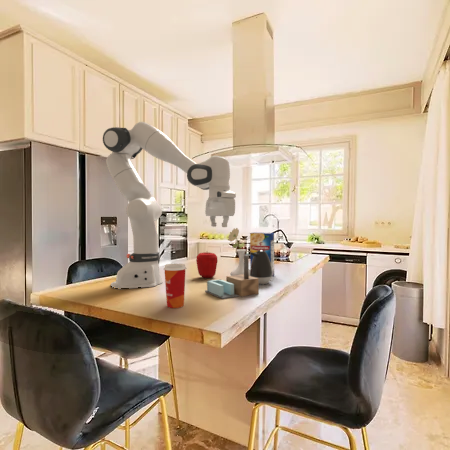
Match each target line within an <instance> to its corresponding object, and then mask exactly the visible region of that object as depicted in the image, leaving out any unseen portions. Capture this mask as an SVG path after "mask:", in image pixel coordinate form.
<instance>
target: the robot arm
mask: <svg viewBox="0 0 450 450" xmlns="http://www.w3.org/2000/svg"><path fill="white" fill-rule="evenodd" d="M102 143H103V145H104V147H105V148H106V149H107V150H109V151H110V152H112V153H110V154H109V155H108V156H107V157H106V160H105V163H106V166H107V169H108V171H109V174H110V176H111V178H112V181H114V183H115V185H116V187H117V189H118V190H119V192H120V194H121V195H122V197H124V198H125V199H126V200H127V202H129V203H127V206H126V214H127V217H128V219H129V223H130V226H131V231H132V238H133V239H132V241H133V243H132V244H133V253H131V254H130V253H126V258H127V259H128V262H127V263H126V264H125V265H123V266H122V268H120V269H119V270H118V271H117V273H116V277H115V278H116V279H115V281H113V282H111V283H110V286H112V287H111V288H113V287H115V288H119V289H118V290H122V289H121V288H129V289H138V287H141V288H153V287H156V286H157V285H161V284H162V283H163V280H162V276H161V271H160V252H159V234H158V232H157V229H156V224H155V222H156V221H157V220H159V218H161V216H162V213H163V208H162V207H161V205H160V204H159V202H158V201H157V200H156V198H155V196H154V195H153V194H152V193H151V191H150V190H149V189H148V187H147V186H146V184H145V183H144V181H143V180H142V177H141V176H140V175H139V173H138V171H137V169H136V168H135V167H134V164H133V163H132V161H131V160H134V159H135V158H136V157H137V156H138V155H139V154H140V153H141V152H142V151H143V150H144V151H146V153H147V154H149V155H150V156H152V157H155V158H156V159H158V160H161V161H163V162H166V163H169V164H172V165H173V166H176V167H177V168H179V169H180V170H181V171H183V172H184V173H185V174H186V179H187V181H188V183H190V184H191V185H192V186H193V187H197V188H199V189H201V190H203V191H208V198H207V200H206V203H205V210H204V211H205V212H204V213H205V216H206V217H209V220H210V223H211V224H210V225H211V227H213V228H214V227H215V228H216V227H217V222H216V219H217V217H222V219H223V221H222V222H221V227H222V228H227V227H228V222H229V220H230V217H234V216H235V213H236V200H235V199H236V195H237V194H236V192H234V191H232V190H231V189H230V188H231V187H230V184H229V183H230V178H231V171H230V170H231V169H230V167H231V166H230V162H229V160H228V159H227V158H226V157H224V156H221V155H212V156H210V157H209V158H208V159H207V160H205V161H202V162H199V163H196V162H195V161H194V160H192V159H191V158H190V157H188V156H187V155H186V154H184V153H183V152H182V151H181V150H180V148H179V147H178V146H177V145H176V144H175V143H174V142H173V141H172V140H171V139H170V138H169V137H168V136H167V135H166V134H165V133H164V132H163V131H162V130H160V129H158V128H157V127H155V126H154V125H152V124H149V123H148V122H145V121H139V122H137V123H135V124H134V125H133V127H132V128H131V129H128V128H126V127H120V126H119V127H118V126H117V127H116V126H115V127H114V126H113V127H109V128H107V129H105V131H104V132H103V135H102ZM115 288H114V289H115Z"/></svg>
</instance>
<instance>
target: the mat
mask: <svg viewBox="0 0 450 450" xmlns="http://www.w3.org/2000/svg"><path fill="white" fill-rule="evenodd" d="M204 292H205V293H207V294H209V295H212V296H214V297H216V298H219V299H222V300H226V299H233V298H238V297H240V296H239V295H237V294H234V295H230V294H227V293H225V292H224V296H221V297H220V296H218V295H216V294H213V293H211V292H209V291H207V289H205V290H204Z"/></svg>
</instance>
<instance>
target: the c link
mask: <svg viewBox="0 0 450 450" xmlns="http://www.w3.org/2000/svg"><path fill="white" fill-rule="evenodd" d="M206 288H207V289H206V290H207V291H209V292H211V293H213V294H216V295H218V296H220V297H221V296H224V292H225V293H227V294H230V295H234V284H232V283H229V282H226V280H224V279H211V280H207V282H206Z"/></svg>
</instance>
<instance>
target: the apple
mask: <svg viewBox="0 0 450 450" xmlns="http://www.w3.org/2000/svg"><path fill="white" fill-rule="evenodd" d="M195 261H196V266H197V268H196V269H197V271H198V275H199V276H200V277H201V278H203V279H210V278H214V277H215V275H216V272H217V267H218V256H217V254H216V253H213V252H208V251H206V252H200V253H198V254H197V256H196V260H195Z"/></svg>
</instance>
